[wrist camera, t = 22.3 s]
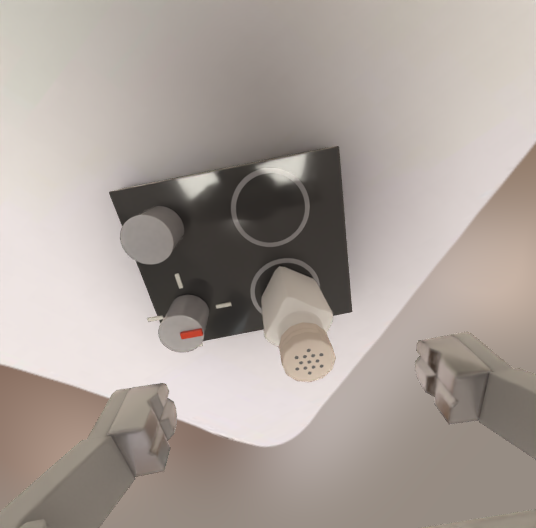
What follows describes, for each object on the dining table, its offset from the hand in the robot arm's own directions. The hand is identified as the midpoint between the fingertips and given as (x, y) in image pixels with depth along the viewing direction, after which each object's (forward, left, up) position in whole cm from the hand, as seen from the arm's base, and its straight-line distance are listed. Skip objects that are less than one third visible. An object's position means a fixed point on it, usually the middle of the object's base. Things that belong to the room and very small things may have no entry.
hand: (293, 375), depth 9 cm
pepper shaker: (+1, -5, -16) cm, 16 cm away
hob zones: (-2, -1, -16) cm, 16 cm away
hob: (-2, -1, -18) cm, 18 cm away
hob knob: (-8, -5, -16) cm, 18 cm away
